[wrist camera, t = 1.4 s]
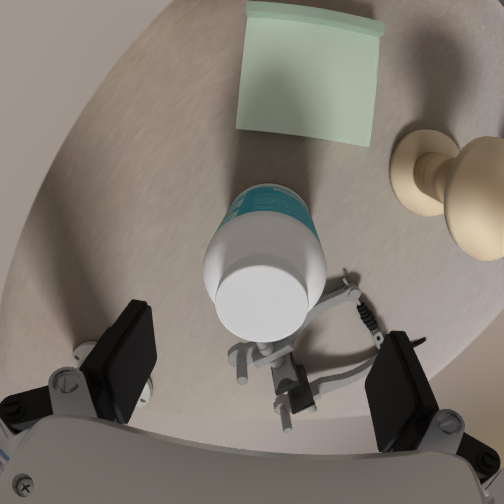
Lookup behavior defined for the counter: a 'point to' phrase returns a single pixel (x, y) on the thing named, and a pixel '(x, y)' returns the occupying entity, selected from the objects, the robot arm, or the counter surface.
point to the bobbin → (454, 187)
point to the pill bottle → (265, 264)
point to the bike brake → (295, 377)
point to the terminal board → (309, 72)
